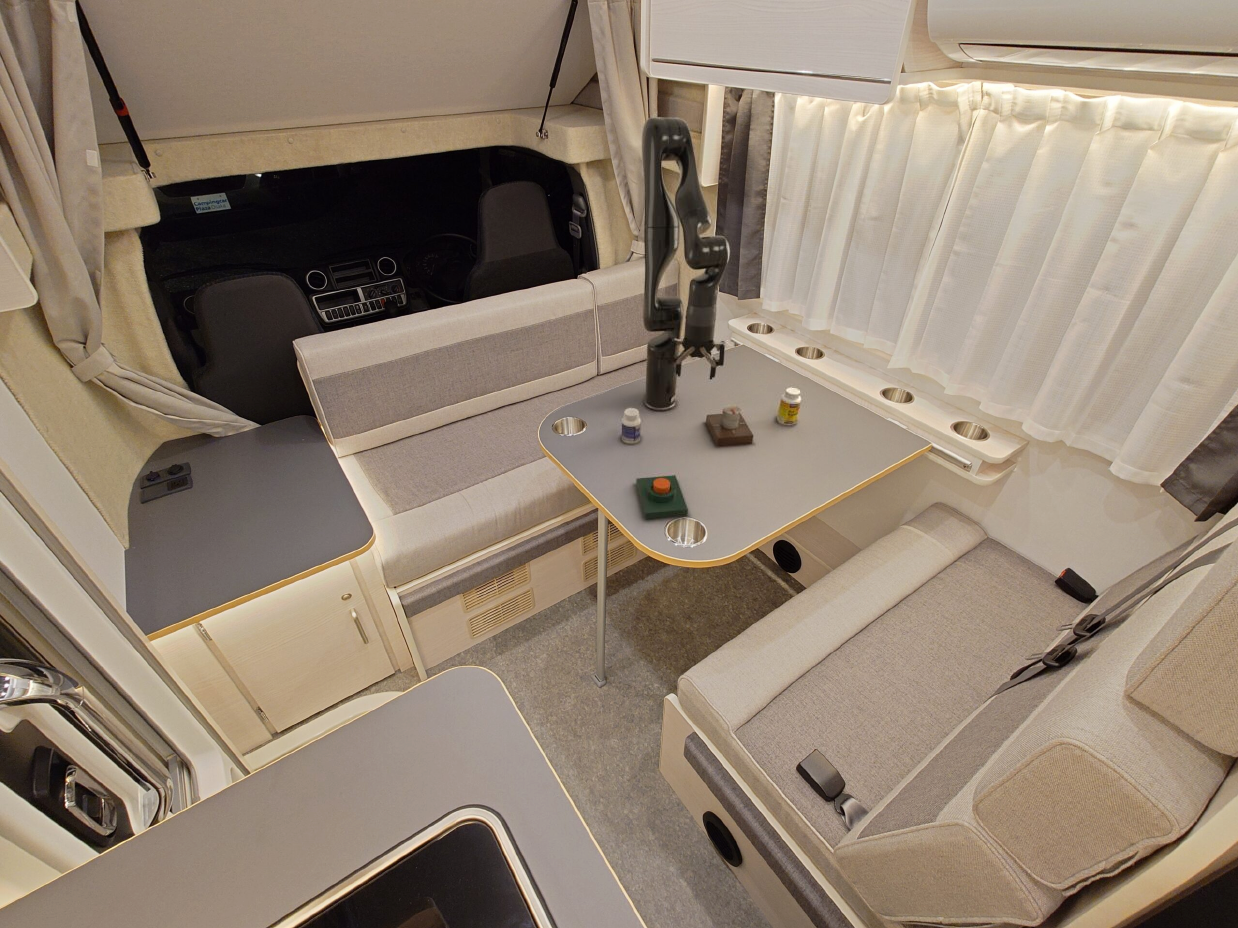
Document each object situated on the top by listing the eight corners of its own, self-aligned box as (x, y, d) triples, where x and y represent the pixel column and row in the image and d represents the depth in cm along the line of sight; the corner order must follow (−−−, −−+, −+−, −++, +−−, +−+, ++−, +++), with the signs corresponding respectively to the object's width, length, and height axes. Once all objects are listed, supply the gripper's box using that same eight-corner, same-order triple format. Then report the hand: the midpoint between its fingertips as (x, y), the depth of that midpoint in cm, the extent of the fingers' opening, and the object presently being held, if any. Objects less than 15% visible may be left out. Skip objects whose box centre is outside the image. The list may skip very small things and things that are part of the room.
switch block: (636, 485, 140) (636, 472, 138) (674, 481, 142) (675, 469, 139) (645, 520, 130) (645, 507, 128) (687, 516, 131) (688, 503, 129)
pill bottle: (638, 445, 154) (639, 418, 149) (619, 443, 155) (620, 415, 150) (641, 434, 158) (642, 407, 153) (623, 432, 159) (623, 405, 154)
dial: (718, 420, 159) (721, 404, 156) (735, 419, 160) (737, 403, 156) (723, 429, 155) (726, 413, 152) (740, 428, 156) (743, 412, 153)
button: (651, 484, 135) (652, 478, 134) (667, 482, 135) (668, 477, 134) (654, 494, 132) (655, 489, 131) (671, 493, 132) (671, 487, 131)
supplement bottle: (784, 428, 162) (791, 397, 156) (772, 418, 166) (779, 388, 160) (800, 423, 164) (807, 393, 157) (787, 414, 168) (794, 384, 161)
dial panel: (705, 423, 163) (706, 414, 162) (738, 420, 165) (739, 411, 163) (717, 446, 154) (718, 437, 152) (751, 444, 155) (753, 434, 153)
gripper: (729, 316, 143) (722, 372, 153) (674, 311, 145) (670, 368, 155) (728, 327, 137) (720, 386, 147) (670, 323, 139) (667, 380, 149)
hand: (694, 376), depth 151 cm, fingers open, 8 cm apart
